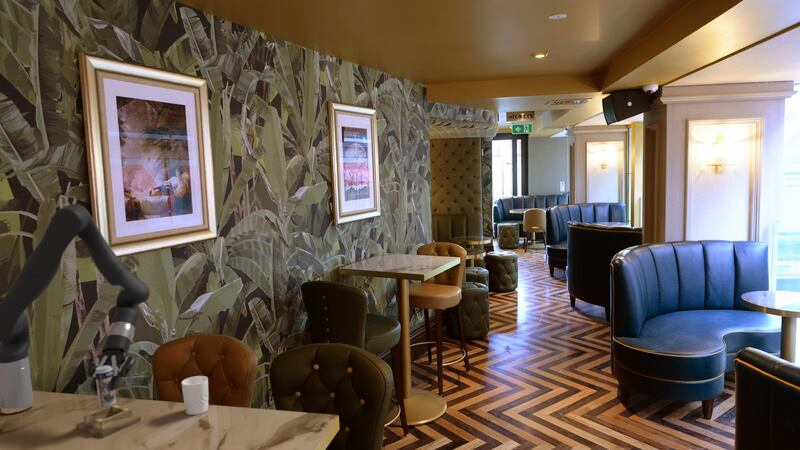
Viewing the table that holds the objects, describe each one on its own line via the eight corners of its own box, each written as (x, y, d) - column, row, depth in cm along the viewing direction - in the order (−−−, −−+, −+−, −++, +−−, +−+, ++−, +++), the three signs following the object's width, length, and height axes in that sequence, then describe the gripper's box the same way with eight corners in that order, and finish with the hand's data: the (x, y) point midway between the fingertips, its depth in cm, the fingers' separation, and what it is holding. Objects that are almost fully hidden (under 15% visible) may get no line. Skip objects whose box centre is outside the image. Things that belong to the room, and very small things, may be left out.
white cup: (182, 417, 171) (180, 386, 170) (185, 407, 179) (183, 377, 178) (209, 413, 173) (206, 382, 172) (211, 403, 181) (208, 374, 180)
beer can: (103, 410, 165) (98, 371, 163) (95, 406, 168) (91, 368, 166) (119, 404, 168) (115, 366, 167) (111, 400, 171) (107, 363, 170)
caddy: (76, 428, 167) (75, 416, 167) (114, 412, 177) (113, 401, 177) (103, 437, 160) (102, 425, 159) (140, 420, 170) (139, 409, 170)
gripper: (91, 334, 174) (72, 386, 163) (136, 332, 173) (120, 384, 162) (102, 345, 179) (84, 396, 169) (146, 343, 179) (131, 394, 168)
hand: (102, 390), depth 166 cm, fingers closed on beer can, 4 cm apart
